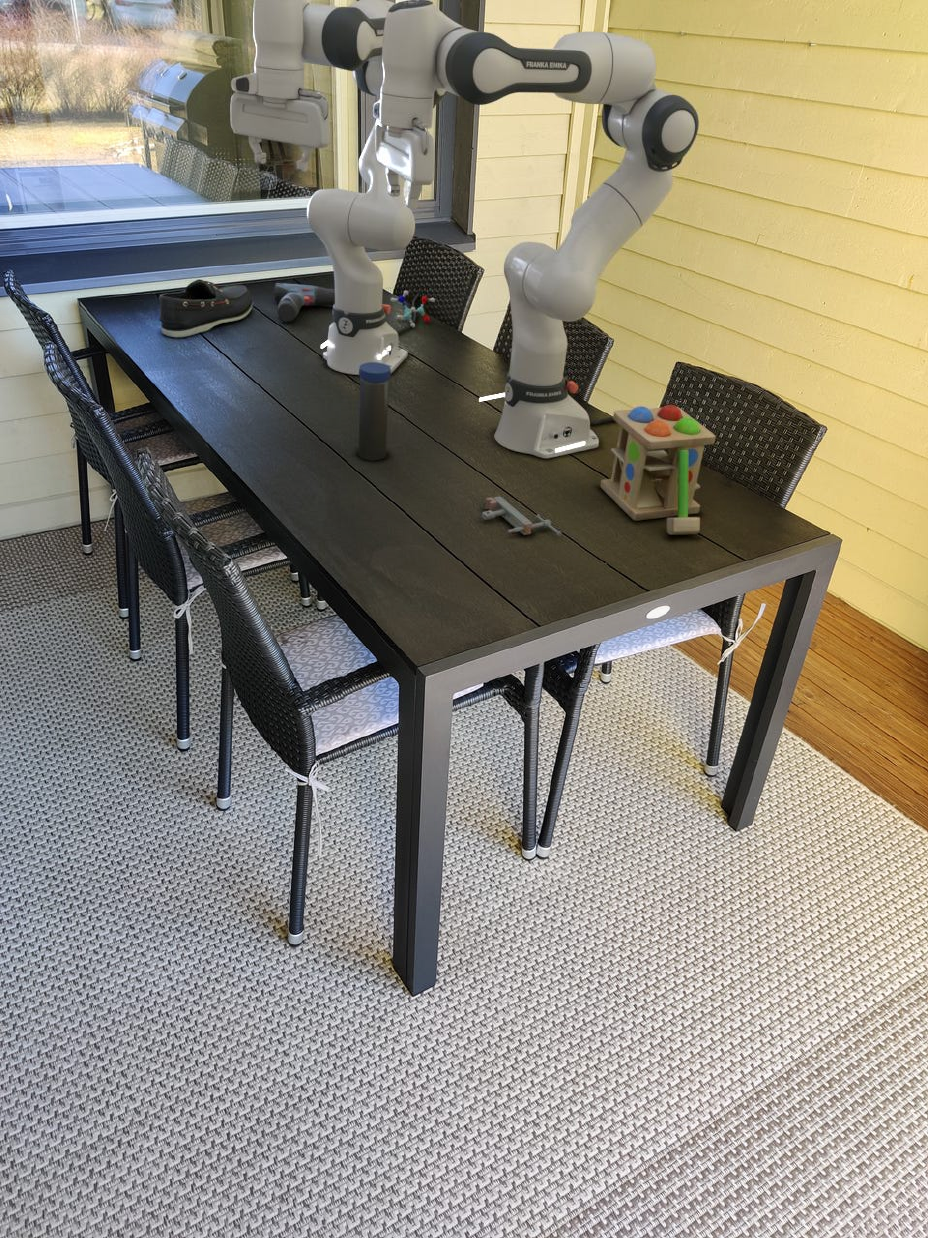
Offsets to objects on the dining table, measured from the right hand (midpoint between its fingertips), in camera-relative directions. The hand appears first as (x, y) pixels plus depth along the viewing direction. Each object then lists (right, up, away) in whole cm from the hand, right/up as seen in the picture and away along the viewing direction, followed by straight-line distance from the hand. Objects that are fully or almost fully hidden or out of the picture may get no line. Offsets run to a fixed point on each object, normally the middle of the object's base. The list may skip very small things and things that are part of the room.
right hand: (402, 201), depth 171 cm
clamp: (+20, -56, +6) cm, 60 cm away
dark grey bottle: (-8, -40, +25) cm, 48 cm away
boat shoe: (-56, +5, +84) cm, 101 cm away
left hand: (-24, +13, +16) cm, 32 cm away
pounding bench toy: (+48, -52, +16) cm, 73 cm away
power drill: (-32, +10, +96) cm, 102 cm away
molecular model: (-4, +8, +96) cm, 97 cm away
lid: (-6, -25, +16) cm, 30 cm away
